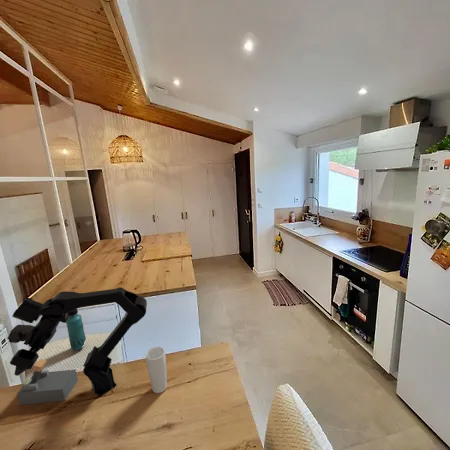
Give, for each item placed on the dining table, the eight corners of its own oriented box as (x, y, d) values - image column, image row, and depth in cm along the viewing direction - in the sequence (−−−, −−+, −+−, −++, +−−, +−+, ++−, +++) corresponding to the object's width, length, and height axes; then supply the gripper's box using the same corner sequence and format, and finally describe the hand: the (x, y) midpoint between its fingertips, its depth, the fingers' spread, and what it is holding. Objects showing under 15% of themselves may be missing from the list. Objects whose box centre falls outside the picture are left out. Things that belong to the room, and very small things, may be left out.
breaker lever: (41, 378, 94) (46, 360, 92) (35, 385, 90) (40, 367, 89) (34, 376, 93) (40, 358, 92) (28, 383, 90) (34, 365, 89)
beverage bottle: (69, 354, 113) (61, 314, 108) (73, 345, 119) (65, 307, 115) (85, 351, 114) (77, 311, 110) (88, 342, 121) (81, 304, 116)
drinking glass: (172, 384, 93) (168, 349, 90) (159, 398, 88) (155, 362, 85) (159, 377, 97) (155, 344, 94) (146, 391, 91) (141, 355, 88)
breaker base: (78, 380, 98) (75, 366, 97) (65, 400, 89) (61, 385, 88) (37, 384, 97) (33, 369, 96) (20, 405, 88) (16, 389, 87)
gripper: (35, 303, 91) (14, 339, 92) (4, 335, 74) (-22, 378, 74) (65, 315, 95) (45, 349, 95) (43, 348, 77) (18, 389, 78)
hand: (23, 364), depth 85 cm, fingers open, 9 cm apart
